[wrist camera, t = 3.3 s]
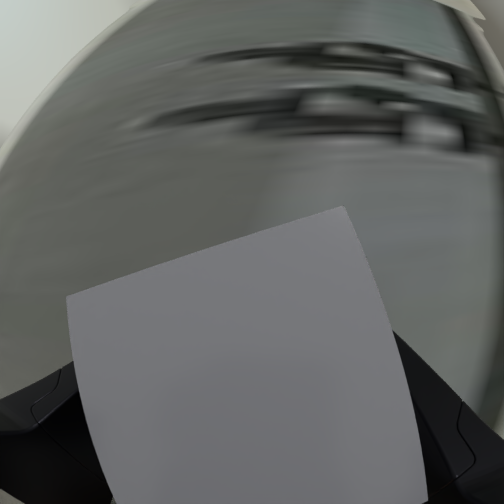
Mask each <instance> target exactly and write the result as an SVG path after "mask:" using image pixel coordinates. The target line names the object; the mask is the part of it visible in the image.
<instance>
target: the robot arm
mask: <svg viewBox="0 0 504 504" xmlns="http://www.w3.org/2000/svg"><path fill="white" fill-rule="evenodd" d="M392 331H393V330H392ZM393 334H394V338H395V341H396V344H397V348H398V351H399V354H400V358H401V361H402V365H403V369H404V372H405V376H406V380H407V384H408V388H409V392H410V396H411V400H412V404H413V409H414V413H415V418H416V423H417V428H418V433H419V438H420V444H421V450H422V456H423V462H424V469H425V477H426V485H427V494H428V501H426V502H424V503H422V504H504V439H502V438H501V437H500V436H499V435H498V434H497V433H496V432H494V431H493V430H492V429H491V428H490V427H489V426H488V425H487V424H486V423H485V422H484V421H482V420H481V419H480V417H479V416H478V415H477V414H476V413H475V412H474V411H473V410H472V409H471V408H470V407H469V406H468V405H467V404H466V403H465V402H464V401H463V402H462V399H461V398H460V397H459V396H458V395H457V394H456V393H455V392H454V391H453V390H452V389H451V388H450V387H449V385H448V384H447V383H446V382H445V381H444V380H443V379H442V378H441V377H440V376H439V375H438V374H437V373H436V372H435V371H434V370H433V369H432V368H431V367H430V366H429V365H428V364H427V363H426V362H425V361H424V360H423V359H422V358H421V357H420V356H419V355H418V354H417V353H416V352H415V351H414V350H413V349H412V348H411V347H410V346H409V345H408V344H407V343H406V342H404V341H403V340H402V339H401V338H400V337H399V336H398V335H397V334H396V333H395V332H394V331H393ZM112 497H113V494H112V492H111V490H110V488H109V485H108V483H107V480H106V478H105V475H104V473H103V470H102V467H101V465H100V462H99V459H98V456H97V453H96V450H95V447H94V444H93V441H92V438H91V435H90V431H89V428H88V424H87V421H86V417H85V413H84V409H83V405H82V401H81V397H80V392H79V388H78V383H77V378H76V373H75V367H74V361H72V362H71V363H69V364H67V365H65V366H64V367H62V369H59V370H57V371H55V372H54V373H52V374H50V375H48V376H47V377H45V378H43V379H41V380H39V381H37V382H35V383H33V384H31V385H29V386H27V387H25V388H23V389H21V390H19V391H17V392H15V393H13V394H10V395H8V396H6V397H4V398H2V399H0V504H110V503H111V500H112Z"/></svg>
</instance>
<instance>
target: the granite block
mask: <svg viewBox="0 0 504 504" xmlns="http://www.w3.org/2000/svg"><path fill="white" fill-rule="evenodd" d="M66 301H67V314H68V324H69V333H70V341H71V348H72V355H73V361H74V367H75V373H76V378H77V383H78V388H79V392H80V397H81V401H82V405H83V409H84V413H85V417H86V421H87V424H88V428H89V431H90V435H91V438H92V441H93V444H94V447H95V450H96V453H97V456H98V459H99V462H100V465H101V467H102V470H103V473H104V475H105V478H106V480H107V483H108V485H109V488H110V490H111V492H112V494H113V497H114V499H115V501H116V503H117V504H422V503H424V502H426V501H428V494H427V485H426V477H425V469H424V462H423V456H422V450H421V444H420V438H419V433H418V428H417V423H416V418H415V413H414V409H413V404H412V400H411V396H410V392H409V388H408V384H407V380H406V376H405V372H404V369H403V365H402V361H401V358H400V354H399V351H398V348H397V344H396V341H395V338H394V334H393V331H392V328H391V325H390V322H389V319H388V316H387V313H386V310H385V307H384V304H383V301H382V299H381V296H380V293H379V290H378V287H377V285H376V282H375V279H374V277H373V274H372V271H371V269H370V266H369V264H368V261H367V259H366V256H365V254H364V251H363V249H362V246H361V244H360V242H359V239H358V237H357V235H356V232H355V230H354V228H353V225H352V223H351V221H350V219H349V216H348V214H347V212H346V210H345V207H344V205H343V206H340V207H336V208H333V209H330V210H327V211H323V212H320V213H317V214H314V215H310V216H307V217H304V218H301V219H298V220H294V221H291V222H288V223H285V224H282V225H278V226H275V227H272V228H269V229H266V230H263V231H260V232H256V233H253V234H250V235H247V236H244V237H241V238H238V239H235V240H232V241H228V242H225V243H222V244H219V245H216V246H213V247H210V248H207V249H204V250H201V251H198V252H195V253H192V254H189V255H186V256H183V257H180V258H177V259H174V260H171V261H168V262H165V263H162V264H159V265H156V266H153V267H150V268H147V269H144V270H141V271H138V272H135V273H132V274H129V275H127V276H124V277H121V278H118V279H115V280H112V281H109V282H106V283H103V284H101V285H98V286H95V287H92V288H89V289H86V290H83V291H81V292H78V293H75V294H72V295H69V296H67V297H66Z"/></svg>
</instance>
